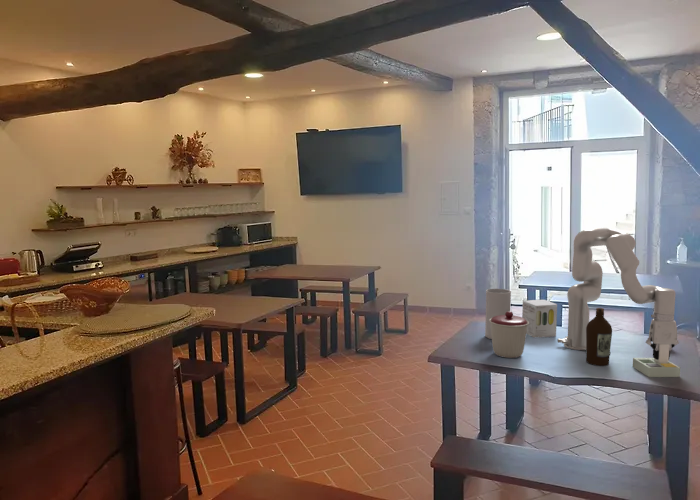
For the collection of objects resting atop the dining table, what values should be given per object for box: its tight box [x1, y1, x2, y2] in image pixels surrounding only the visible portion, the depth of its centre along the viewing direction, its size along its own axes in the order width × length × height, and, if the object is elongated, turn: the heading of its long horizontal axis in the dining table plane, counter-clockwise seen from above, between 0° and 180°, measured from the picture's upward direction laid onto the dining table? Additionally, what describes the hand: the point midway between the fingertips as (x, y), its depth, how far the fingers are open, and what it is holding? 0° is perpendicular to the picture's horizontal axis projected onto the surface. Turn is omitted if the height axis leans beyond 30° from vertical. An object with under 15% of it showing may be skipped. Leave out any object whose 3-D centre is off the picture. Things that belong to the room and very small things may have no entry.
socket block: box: [632, 357, 681, 378], centre depth 230 cm, size 13×13×4 cm
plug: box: [654, 344, 670, 363], centre depth 231 cm, size 4×4×14 cm
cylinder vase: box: [484, 288, 512, 340], centre depth 283 cm, size 12×12×25 cm
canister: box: [489, 310, 529, 359], centre depth 253 cm, size 18×18×21 cm
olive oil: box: [585, 307, 613, 367], centre depth 241 cm, size 11×11×25 cm
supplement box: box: [521, 299, 558, 339], centre depth 289 cm, size 13×13×18 cm
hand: (661, 358), depth 232 cm, fingers closed on plug, 3 cm apart
